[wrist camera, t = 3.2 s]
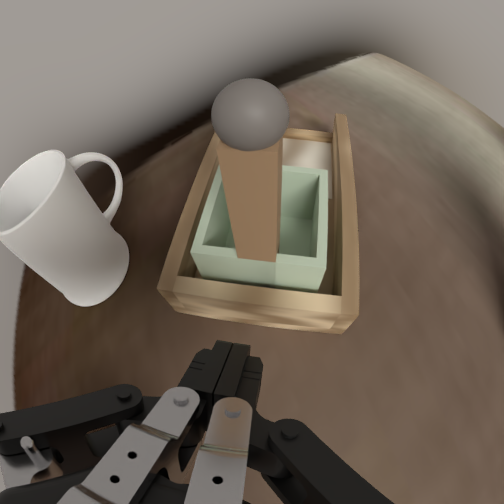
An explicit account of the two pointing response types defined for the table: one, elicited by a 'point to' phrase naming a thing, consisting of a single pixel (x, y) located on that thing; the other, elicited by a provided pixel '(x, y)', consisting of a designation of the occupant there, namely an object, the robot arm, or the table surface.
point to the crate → (261, 199)
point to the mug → (64, 227)
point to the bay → (268, 299)
